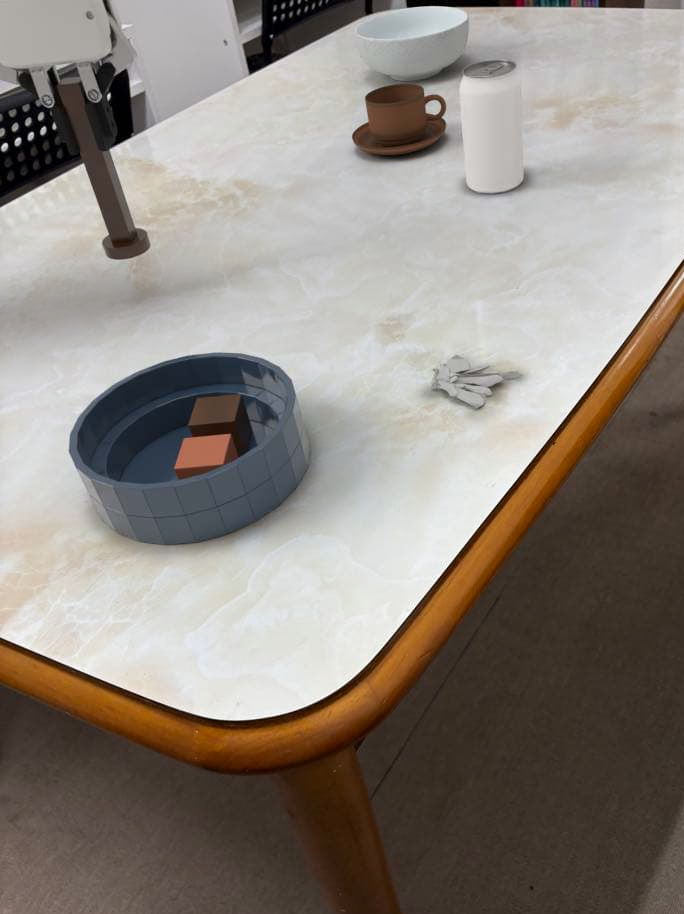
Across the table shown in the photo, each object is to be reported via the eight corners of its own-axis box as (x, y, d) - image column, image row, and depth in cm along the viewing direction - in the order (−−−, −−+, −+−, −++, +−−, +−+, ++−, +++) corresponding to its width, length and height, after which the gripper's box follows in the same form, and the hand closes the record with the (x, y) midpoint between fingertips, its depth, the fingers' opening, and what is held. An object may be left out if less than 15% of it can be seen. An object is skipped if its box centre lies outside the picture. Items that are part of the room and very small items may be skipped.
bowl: (70, 558, 59) (37, 499, 56) (127, 420, 71) (103, 363, 67) (299, 539, 58) (281, 476, 54) (319, 401, 70) (305, 342, 66)
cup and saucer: (421, 121, 115) (416, 71, 111) (464, 145, 107) (460, 91, 102) (340, 145, 112) (331, 94, 108) (377, 171, 104) (369, 118, 100)
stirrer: (100, 261, 82) (37, 91, 72) (112, 241, 85) (53, 75, 75) (145, 257, 82) (88, 85, 71) (155, 237, 85) (102, 70, 75)
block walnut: (201, 462, 65) (187, 425, 62) (209, 434, 67) (196, 397, 65) (246, 458, 64) (234, 420, 62) (253, 430, 67) (241, 393, 64)
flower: (509, 362, 72) (513, 333, 70) (534, 416, 66) (539, 385, 64) (421, 366, 71) (422, 337, 69) (438, 421, 65) (440, 390, 63)
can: (455, 191, 97) (445, 75, 88) (485, 169, 100) (478, 56, 92) (505, 198, 93) (500, 79, 85) (534, 175, 97) (531, 59, 89)
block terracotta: (188, 506, 61) (173, 468, 59) (197, 475, 64) (183, 437, 61) (236, 502, 61) (223, 464, 58) (243, 471, 63) (231, 433, 61)
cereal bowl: (373, 100, 124) (366, 45, 119) (352, 70, 136) (344, 20, 131) (485, 75, 125) (482, 21, 121) (454, 49, 138) (450, -2, 133)
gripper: (122, -125, 67) (187, 124, 79) (-73, -100, 68) (22, 142, 80) (95, -112, 61) (170, 153, 74) (-115, -84, 62) (-6, 172, 75)
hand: (93, 146), depth 77 cm, fingers closed on stirrer, 2 cm apart
